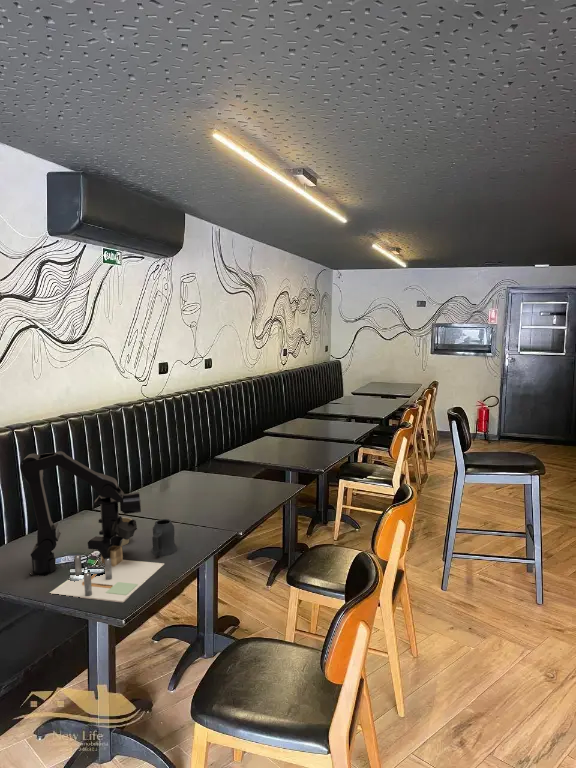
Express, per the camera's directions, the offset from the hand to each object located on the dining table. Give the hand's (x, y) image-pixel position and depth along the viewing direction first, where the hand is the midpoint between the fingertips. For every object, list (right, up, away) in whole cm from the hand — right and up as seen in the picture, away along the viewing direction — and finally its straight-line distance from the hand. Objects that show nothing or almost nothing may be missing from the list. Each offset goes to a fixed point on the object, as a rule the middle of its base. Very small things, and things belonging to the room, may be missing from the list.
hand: (112, 559), depth 188 cm
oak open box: (0, -1, 0) cm, 1 cm away
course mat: (+3, -3, -11) cm, 12 cm away
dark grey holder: (+15, -1, +8) cm, 17 cm away
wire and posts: (-2, -3, -15) cm, 15 cm away
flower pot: (-3, 0, +18) cm, 18 cm away
